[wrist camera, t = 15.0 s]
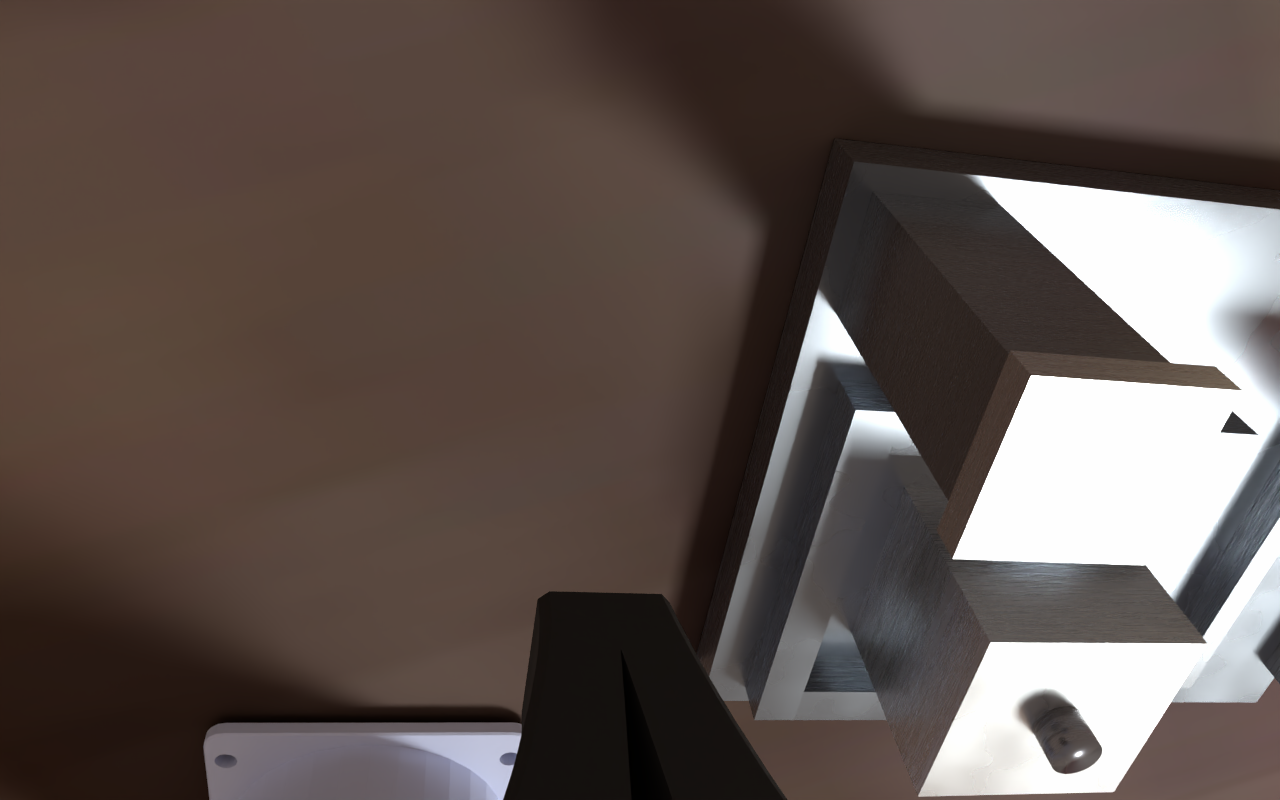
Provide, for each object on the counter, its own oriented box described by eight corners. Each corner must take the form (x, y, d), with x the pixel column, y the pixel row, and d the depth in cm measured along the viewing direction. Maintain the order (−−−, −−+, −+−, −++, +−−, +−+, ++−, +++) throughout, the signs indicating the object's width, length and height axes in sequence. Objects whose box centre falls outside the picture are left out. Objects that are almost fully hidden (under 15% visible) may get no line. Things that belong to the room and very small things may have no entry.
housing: (1020, 635, 25) (1133, 825, 21) (852, 633, 24) (932, 831, 20) (1090, 494, 23) (1233, 676, 18) (904, 487, 22) (1010, 676, 18)
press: (1230, 668, 29) (1441, 936, 23) (694, 663, 26) (763, 971, 20) (1535, 220, 22) (1980, 429, 15) (834, 138, 19) (1019, 356, 12)
